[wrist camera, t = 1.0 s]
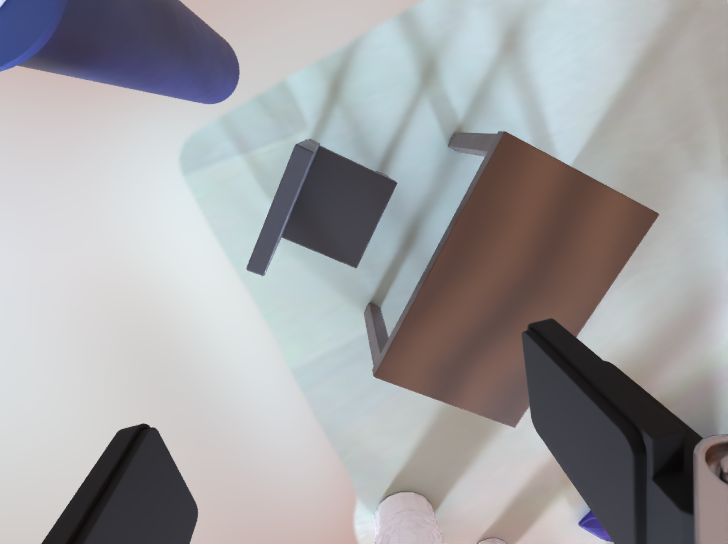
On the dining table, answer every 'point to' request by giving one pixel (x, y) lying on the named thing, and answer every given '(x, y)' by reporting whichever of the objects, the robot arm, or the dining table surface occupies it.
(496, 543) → the beverage cup
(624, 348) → the dining table surface
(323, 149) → the chair
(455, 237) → the desk
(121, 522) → the robot arm
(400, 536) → the white cup
